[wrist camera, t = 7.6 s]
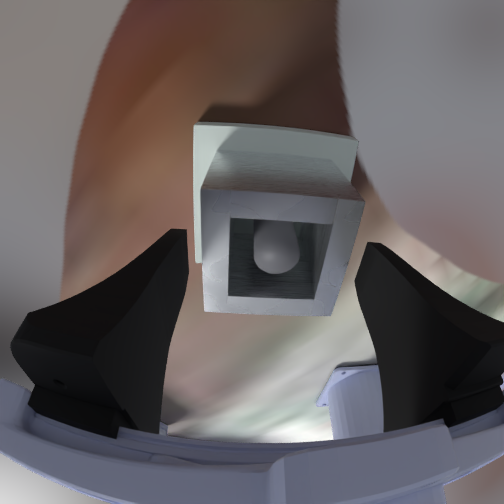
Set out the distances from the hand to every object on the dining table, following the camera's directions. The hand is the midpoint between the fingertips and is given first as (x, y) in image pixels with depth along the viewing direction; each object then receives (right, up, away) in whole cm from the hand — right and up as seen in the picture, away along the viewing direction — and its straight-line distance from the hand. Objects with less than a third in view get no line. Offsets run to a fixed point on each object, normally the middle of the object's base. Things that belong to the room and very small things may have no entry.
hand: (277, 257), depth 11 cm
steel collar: (0, +3, +4) cm, 5 cm away
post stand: (0, +3, +4) cm, 6 cm away
